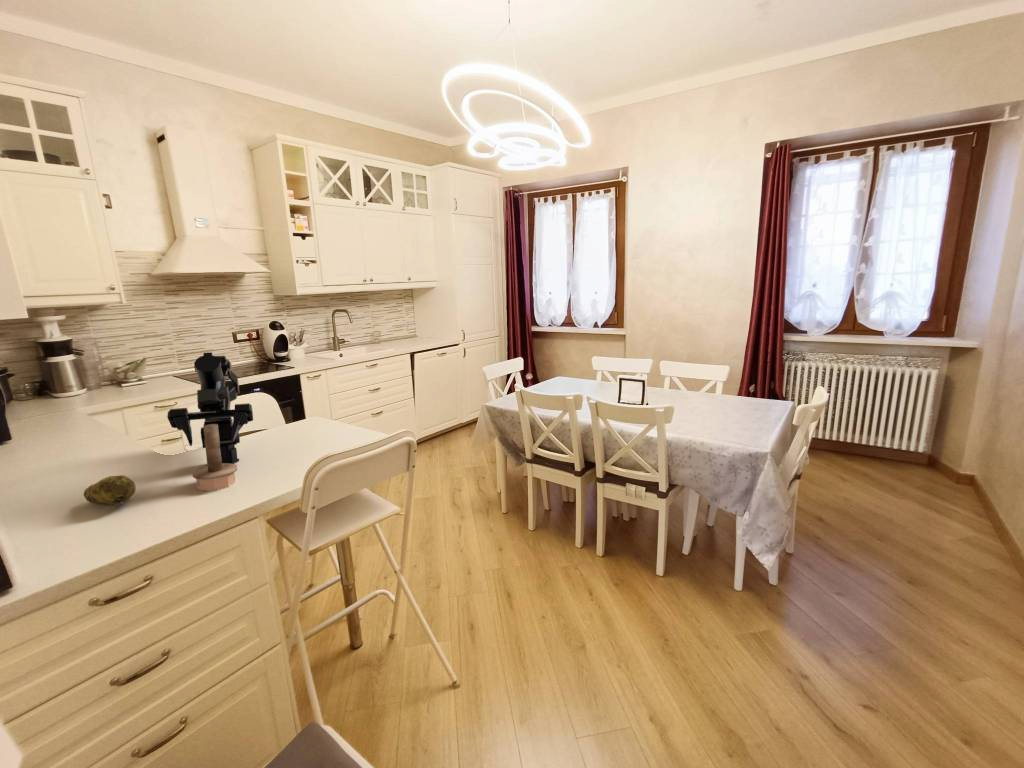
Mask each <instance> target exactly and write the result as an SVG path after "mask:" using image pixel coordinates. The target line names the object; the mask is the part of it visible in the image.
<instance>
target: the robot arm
mask: <svg viewBox="0 0 1024 768" xmlns="http://www.w3.org/2000/svg"><path fill="white" fill-rule="evenodd" d="M193 365H194V366H193V367H194V371H195V373H196V375H197V379H198V381H199V382H200V389H198V390H196V394H197V396H196V397H197V398H196V401H197V409H198V410H199V411H193V412H192V411H191V412H190V411H189V410H188V408H187V407H182V408H181V407H178V408H170V409H169V410H168V411H167V416H166V417H167V420H168V422H169V424H170V427H171V428H173V429H177V431H182V432H183V433H184V435H185V437H186V439H187V443H188V444H189V447H192V446H193V433H192V425H191V421H195V420H198V421H199V420H204V422H203V426H204V425H208V424H218V430H219V440H220V450H221V460H222V463H231V464H235V463H237V462H239V461H240V458H238V452H237V451H238V450H237V447H236V445H238V444H240V443H241V440H240V430H241V429H242V428H243V426H244V425H247V424H248V423H249V422H253V421H254V412H253V406H252V404H251V403H235V404H234V409H231V402H233V401H235V400H237V399H238V398H237V397H238V394H240V386H239V385H240V384H239V378H238V376H237V375H236V374H235V373H234V371H232V370H231V368H232V363H231V362H230V359H228V358H227V357H226V355H213V352H203V355H201V356H199V357H198V358H196V359H195V361H194V364H193ZM225 377H228V379H227V380H226V379H225ZM229 379H230V380H229ZM200 438H201V443H202V449H206V447H205V438H204V428H203V427H200ZM205 466H207V464H206V465H205Z"/></svg>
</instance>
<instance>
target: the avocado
mask: <svg viewBox="0 0 1024 768" xmlns="http://www.w3.org/2000/svg"><path fill="white" fill-rule="evenodd" d="M136 489H137V487H136V484H135V482H134V481H133V480H132V479H131V478H130V477H128V476H126V475H122V474H121V475H113V476H112V475H111V476H107V477H105V478H102V479H100V480H99V481H97V482H95V483H94V484H91V485H90V486H88V487H86V489H85V490H84V492H83V495H82V496H83V497H84V499H85V500H86V501H87V502H89V503H92V504H99V505H103V506H116V505H117V506H118V505H120V504H123V503H126V502H127V501H129V500H130V499H131V498H132V496H134V494H135V492H136Z"/></svg>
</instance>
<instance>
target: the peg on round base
mask: <svg viewBox="0 0 1024 768" xmlns="http://www.w3.org/2000/svg"><path fill="white" fill-rule="evenodd" d="M203 425H204V424H203ZM203 428H204V438H205V447H206V448H205V454H206V455H205V456H206V465H207V466H206V465H204V466H201V467H198V468H196V469H195V470H193V471H192V474H191V475H192V478H194V479H195V480H196V479H214V478H220V477H224V476H227V475H230V474H232V473H235V472H237V471H238V465H237V464H235V463H234V464H231V463H222V460H221V450H220V440H219V430H218V424H208V425H204V426H203Z"/></svg>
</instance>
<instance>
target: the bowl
mask: <svg viewBox="0 0 1024 768" xmlns="http://www.w3.org/2000/svg"><path fill="white" fill-rule="evenodd" d="M195 480H196V486H198V487H199V488H198V487H197V488H198V489H199V491H200V490H215V491H217V490H216V489H219V490H222V489H221V488H223V489H226V488H225V487H227V488H229V487H231V486H232V485H234V484H235V483H236V475H235V472H234V473H232V474H230V475H227V476H224V477H220V478H214V479H196V478H195Z"/></svg>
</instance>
